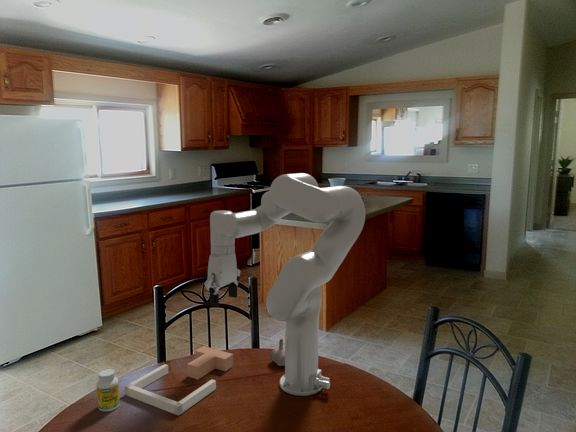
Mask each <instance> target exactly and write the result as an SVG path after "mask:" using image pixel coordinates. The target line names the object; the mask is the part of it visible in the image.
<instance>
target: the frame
mask: <svg viewBox="0 0 576 432" xmlns="http://www.w3.org/2000/svg"><path fill="white" fill-rule="evenodd" d="M168 374H169V364H167V363H166V364H165V363H164V364H162V365H161V366H159V367H157V368H155V369H153V370H152V371H149V372H148V373H146V374H144V375H142V376H141V377H139V378H137V379H135V380H134V381H131V382H130V383H128V384H126V385H124V395H125V396H127V397H130V398H132V399H135V400H138V401H140V402H143V403H145V404H148V405H151V406H153V407H155V408H158V409H161V410H163V411H165V412H168V413H171V414H174V415H176V416H179V417H180V415H182V414H183V413H184V412H186V411H188V409H190V408H191V407H193V406H195V405H196V404H197V403H198V402H200V401H201V400H203V399H204V398H205V397H207V396H208V395H210V394H211V393H213V392H214V391H215V390H217V380H215V379H210V380H208V381H207V382H206V383H204V384H202V385H201V386H200V387H198V388H197V389H195V390H194V391H192V392H191V393H189V394H188V395H186V396H185V397H184V398H183V397H182V399H181V400H178V401H176V400H173V399H171V398H167V397H165V396H163V395H159V394H157V393H154V392H152V391H149V390H148V389H147V390H146V389H144V388H145V387H147V386H149V385H151V384H152V383H154V382H155V381H158V380H159V379H161V378H162V377H164V376H166V375H168Z"/></svg>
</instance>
